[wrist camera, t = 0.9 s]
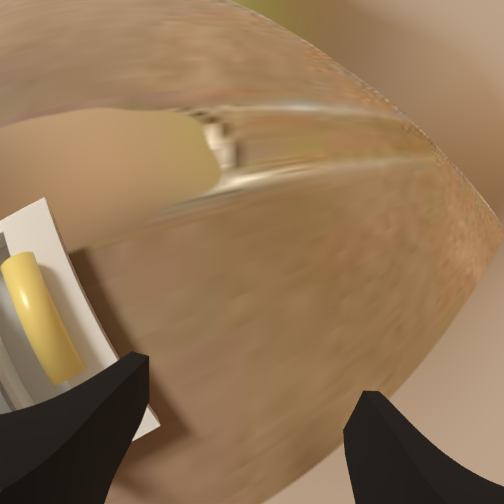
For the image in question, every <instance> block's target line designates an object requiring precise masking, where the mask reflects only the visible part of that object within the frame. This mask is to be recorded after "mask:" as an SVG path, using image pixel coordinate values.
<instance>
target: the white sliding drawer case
mask: <svg viewBox="0 0 504 504" xmlns="http://www.w3.org/2000/svg"><path fill="white" fill-rule="evenodd" d="M22 252H33V253H34V255H35V258H36V260H37V263H38V266H39V268H40V271H41V274H42V276H43V279H44V281H45V284H46V286H47V288H48V291H49V293H50V295H51V298H52V300H53V302H54V305H55V307H56V309H57V311H58V313H59V315H60V318H61V320H62V322H63V324H64V326H65V328H66V330H67V332H68V334H69V336H70V338H71V340H72V342H73V344H74V345H75V347H76V349H77V351H78V353H79V355H80V357H81V358H82V360H83V362H84V364H85V365H86V367H87V369H86V370H84V371H82V372H81V373H79V374H77V375H76V376H74V377H72V378H70V379H68V380H66V381H65V382H63V383H61V384H59V385H57V386H55V387H53V386H52V384H51V382H50V380H49V379H48V377H47V375H46V373H45V371H44V370H43V368H42V366H41V364H40V362H39V360H38V358H37V356H36V354H35V352H34V350H33V348H32V346H31V344H30V342H29V340H28V338H27V335H26V333H25V331H24V329H23V326H22V324H21V322H20V320H19V317H18V315H17V312H16V310H15V307H14V305H13V302H12V300H11V297H10V294H9V292H8V289H7V286H6V283H5V280H4V277H3V274H2V271H1V265H2V264H3V262H4V261H6V260H7V259H8V258H10V257H12V256H14V255H16V254H18V253H22ZM119 359H120V358H119V356H118V354H117V353H116V351H115V349H114V347H113V346H112V344H111V342H110V340H109V339H108V337H107V335H106V333H105V331H104V329H103V327H102V326H101V324H100V322H99V320H98V318H97V316H96V314H95V312H94V310H93V308H92V306H91V304H90V302H89V300H88V298H87V296H86V294H85V291H84V289H83V287H82V285H81V283H80V281H79V278H78V276H77V274H76V272H75V269H74V267H73V265H72V262H71V260H70V257H69V255H68V253H67V250H66V248H65V245H64V243H63V241H62V237H61V235H60V232H59V230H58V227H57V224H56V221H55V218H54V216H53V213H52V210H51V209H50V206H49V204H48V203H47V201H46V199H45V197H44V198H42V199H40V200H38V201H36V202H34V203H32V204H30V205H28V206H27V207H25V208H23V209H21V210H19V211H17V212H15V213H14V214H12V215H10V216H8V217H7V218H5V219H3V220H1V221H0V381H1V383H2V385H3V387H4V389H5V391H6V392H7V394H8V396H9V398H10V400H11V402H12V403H13V405H14V407H15V408H16V410H20V409H23V408H26V407H30V406H33V405H36V404H39V403H41V402H44V401H46V400H49V399H51V398H54V397H56V396H58V395H60V394H62V393H64V392H66V391H68V390H70V389H72V388H74V387H76V386H77V385H79V384H81V383H83V382H85V381H86V380H88V379H90V378H91V377H93V376H95V375H96V374H98V373H99V372H101V371H103V370H104V369H106V368H107V367H109V366H110V365H112V364H113V363H115V362H116V361H118V360H119ZM159 426H161V425H160V423H159V420H158V417H157V415H156V414H155V412H154V411H153V409H152V408H151V407H150V405H149V404H148V405H147V408H146V411H145V414H144V417H143V419H142V422H141V424H140V426H139V428H138V430H137V432H136V434H135V436H134V438H133V440H132V441H134V440H136V439H138V438H139V437H141V436H143V435H145V434H147V433H148V432H150V431H152V430H154V429H156V428H157V427H159Z"/></svg>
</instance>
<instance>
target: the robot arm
mask: <svg viewBox="0 0 504 504" xmlns="http://www.w3.org/2000/svg"><path fill="white" fill-rule="evenodd" d="M148 402H149V356H147V355H143V354H139V353H136V352H130V353H129V354H127V355H126V356H124V357H122V358H121V359H119V360H118V361H116V362H115V363H113V364H112V365H110V366H109V367H107V368H106V369H104V370H103V371H101V372H99V373H98V374H96V375H95V376H93V377H91V378H90V379H88V380H86V381H85V382H83V383H81V384H79V385H77V386H76V387H74V388H72V389H70V390H68V391H66V392H64V393H62V394H60V395H58V396H56V397H54V398H51V399H49V400H46V401H44V402H41V403H39V404H36V405H33V406H30V407H26V408H23V409H20V410H16V411H12V412H9V413H4V414H0V504H104V503H105V500H106V497H107V494H108V491H109V488H110V485H111V482H112V480H113V478H114V475H115V473H116V471H117V469H118V467H119V465H120V463H121V461H122V459H123V457H124V455H125V453H126V451H127V450H128V448H129V446H130V444H131V442H132V440H133V438H134V436H135V434H136V432H137V430H138V428H139V426H140V424H141V422H142V419H143V417H144V414H145V411H146V408H147V405H148ZM343 434H344V448H345V456H346V461H347V466H348V471H349V475H350V480H351V485H352V489H353V493H354V498H355V504H504V487H503V486H501V485H498V484H496V483H493V482H491V481H489V480H487V479H484V478H482V477H480V476H479V475H477V474H475V473H473V472H472V471H470V470H468V469H466V468H465V467H463V466H461V465H460V464H458V463H457V462H456V461H454V460H453V459H451V458H450V457H449V456H447V455H446V454H445V453H443V452H442V451H441V450H439V449H438V448H437V447H436V446H435V445H434V444H432V443H431V442H430V441H429V440H428V439H427V438H426V437H425V436H423V435H422V434H421V433H420V432H419V431H418V430H417V429H416V428H415V427H414V426H413V425H412V424H411V423H410V422H409V421H408V420H407V419H406V418H405V417H404V416H403V415H402V414H401V413H400V412H399V411H398V410H397V409H396V408H395V406H393V404H392V403H390V401H389V400H388V399H387V398H386V397H385V396H384V395H382V394H381V393H380V392H379V391H363V392H362V395H361V397H360V399H359V401H358V403H357V405H356V407H355V409H354V411H353V412H352V414H351V416H350V418H349V420H348V422H347V424H346V426H345V428H344V429H343Z"/></svg>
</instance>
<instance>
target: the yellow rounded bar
mask: <svg viewBox="0 0 504 504" xmlns="http://www.w3.org/2000/svg"><path fill="white" fill-rule="evenodd" d="M1 271H2V274H3V277H4V280H5V283H6V286H7V289H8V292H9V294H10V297H11V300H12V302H13V305H14V307H15V310H16V312H17V315H18V317H19V320H20V322H21V324H22V326H23V329H24V331H25V333H26V335H27V338H28V340H29V342H30V344H31V346H32V348H33V350H34V352H35V354H36V356H37V358H38V360H39V362H40V364H41V366H42V368H43V370H44V371H45V373H46V375H47V377H48V379H49V380H50V382H51V384H52V386H53V387H55V386H57V385H59V384H61V383H63V382H65V381H66V380H68V379H70V378H72V377H74V376H76V375H77V374H79V373H81V372H82V371H84V370H86V369H87V367H86V365H85V364H84V362H83V360H82V358H81V357H80V355H79V353H78V351H77V349H76V347H75V345H74V344H73V342H72V340H71V338H70V336H69V334H68V332H67V330H66V328H65V326H64V324H63V322H62V320H61V318H60V315H59V313H58V311H57V309H56V307H55V305H54V302H53V300H52V298H51V295H50V293H49V291H48V288H47V286H46V284H45V281H44V279H43V276H42V274H41V271H40V268H39V266H38V263H37V260H36V258H35V255H34V253H33V252H22V253H18V254H16V255H14V256H12V257H10V258H8V259H7V260H6V261H4V262H3V264H2V265H1Z"/></svg>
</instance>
